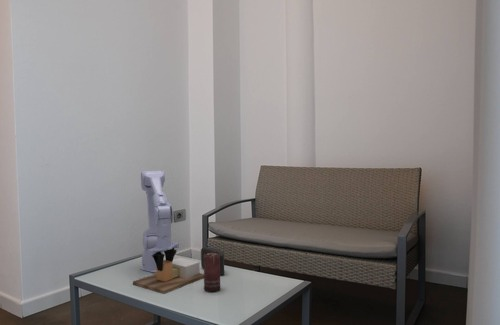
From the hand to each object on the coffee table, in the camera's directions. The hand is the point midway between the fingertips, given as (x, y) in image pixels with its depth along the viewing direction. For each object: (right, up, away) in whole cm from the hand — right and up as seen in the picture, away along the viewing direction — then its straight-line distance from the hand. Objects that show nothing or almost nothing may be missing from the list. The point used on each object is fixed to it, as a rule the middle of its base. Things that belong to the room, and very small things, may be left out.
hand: (164, 269), depth 163 cm
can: (+20, -6, -8) cm, 22 cm away
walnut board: (+2, -6, +3) cm, 6 cm away
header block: (+6, -4, +8) cm, 11 cm away
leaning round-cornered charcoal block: (+18, -5, +14) cm, 24 cm away
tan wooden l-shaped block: (+3, -4, +4) cm, 7 cm away
